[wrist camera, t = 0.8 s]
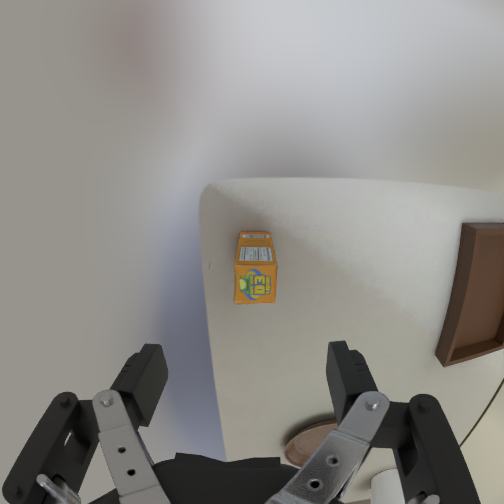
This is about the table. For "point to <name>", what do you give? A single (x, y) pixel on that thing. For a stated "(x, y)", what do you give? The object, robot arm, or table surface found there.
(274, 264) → the supplement box
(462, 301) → the tray
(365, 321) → the table surface
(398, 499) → the cup
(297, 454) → the saucer
